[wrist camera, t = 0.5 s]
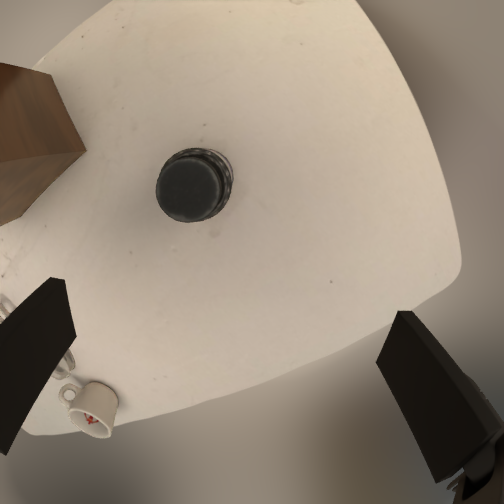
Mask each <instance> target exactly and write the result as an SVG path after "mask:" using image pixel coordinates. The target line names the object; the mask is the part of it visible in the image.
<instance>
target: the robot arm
mask: <svg viewBox="0 0 504 504" xmlns="http://www.w3.org/2000/svg"><path fill="white" fill-rule="evenodd" d="M76 337H77V336H76V332H75V328H74V324H73V319H72V315H71V310H70V306H69V301H68V295H67V290H66V284H65V280H63V279H58V278H52V277H50V278H49V279H47V280H46V281H45V282H44V283H43V284H42V285H41V286H40V287H38V288H37V289H36V290H35V291H34V292H33V293H32V294H31V295H30V296H29V297H27V298H26V299H25V300H24V301H23V302H22V303H21V304H20V305H19V306H18V307H17V308H16V309H15V310H14V311H13V312H12V313H11V314H10V315H9V316H8V317H7V318H6V319H5V320H4V321H3V322H2V323H1V324H0V453H2V454H4V455H7V453H8V451H9V449H10V447H11V445H12V443H13V441H14V439H15V437H16V435H17V433H18V431H19V430H20V428H21V426H22V424H23V422H24V420H25V419H26V417H27V415H28V413H29V411H30V410H31V408H32V406H33V404H34V403H35V401H36V399H37V398H38V396H39V394H40V392H41V391H42V389H43V388H44V386H45V384H46V383H47V381H48V379H49V378H50V376H51V375H52V373H53V371H54V370H55V368H56V367H57V365H58V364H59V362H60V361H61V359H62V358H63V356H64V355H65V353H66V352H67V350H68V349H69V347H70V346H71V344H72V343H73V341H74V340H75V338H76ZM376 364H377V365H378V367H379V369H380V371H381V373H382V375H383V377H384V378H385V380H386V382H387V384H388V386H389V388H390V390H391V392H392V394H393V395H394V397H395V399H396V401H397V403H398V405H399V407H400V409H401V411H402V413H403V415H404V417H405V419H406V421H407V423H408V425H409V427H410V429H411V431H412V433H413V435H414V437H415V439H416V441H417V443H418V445H419V447H420V450H421V452H422V454H423V456H424V458H425V460H426V462H427V465H428V467H429V469H430V471H431V474H432V476H433V478H434V480H435V483H438V482H441V481H443V480H445V479H447V478H449V477H452V476H453V475H454V474H455V473H456V472H457V471H459V470H460V469H461V468H462V467H463V469H464V472H463V473H462V474H461V475H460V476H458V477H457V478H456V479H455V480H453V481H452V482H451V483H450V484H449V485H448V487H447V490H449V489H450V488H452V487H453V486H454V485H456V484H457V483H458V485H457V486H456V487H454V488H453V490H452V491H454V492H456V494H455V498H454V501H453V504H504V422H503V421H502V419H501V418H500V416H499V415H498V413H497V412H496V411H495V409H494V408H493V406H492V405H491V403H490V402H489V401H488V399H486V397H485V395H484V394H483V393H482V392H480V389H479V387H478V386H477V384H476V383H475V382H474V381H473V380H472V379H471V378H470V377H468V376H467V375H466V374H465V373H463V372H462V370H461V369H460V368H459V367H458V365H457V364H456V363H455V361H454V360H453V359H452V358H451V357H450V355H449V354H448V353H447V351H446V350H445V349H444V348H443V347H442V345H441V344H440V343H439V342H438V341H437V339H436V338H435V337H434V336H433V335H432V333H431V332H430V331H429V330H428V329H427V328H426V326H425V325H424V324H423V323H422V322H421V321H420V320H419V318H418V317H417V316H416V315H415V314H414V313H413V312H412V311H397V314H396V317H395V319H394V322H393V324H392V327H391V329H390V332H389V334H388V336H387V339H386V341H385V343H384V345H383V348H382V350H381V352H380V354H379V356H378V359H377V361H376Z"/></svg>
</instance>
